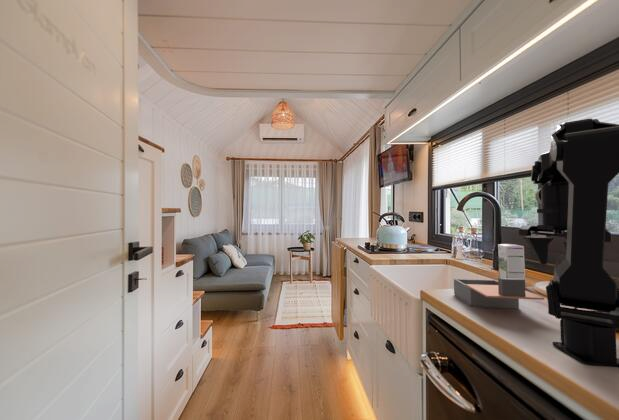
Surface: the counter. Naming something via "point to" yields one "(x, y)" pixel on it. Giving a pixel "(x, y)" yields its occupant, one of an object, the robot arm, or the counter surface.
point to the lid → (505, 289)
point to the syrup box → (511, 261)
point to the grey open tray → (478, 299)
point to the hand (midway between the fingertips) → (559, 267)
